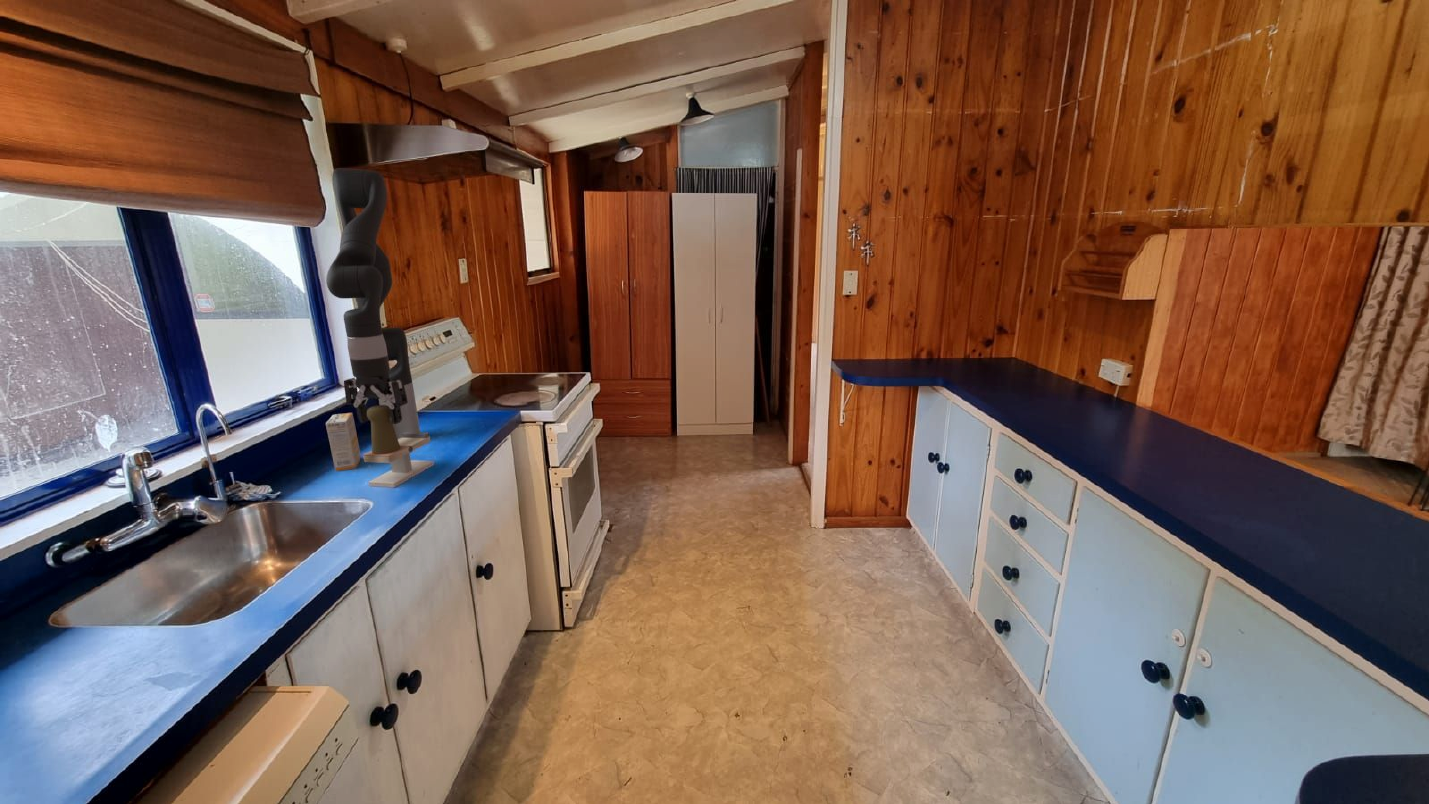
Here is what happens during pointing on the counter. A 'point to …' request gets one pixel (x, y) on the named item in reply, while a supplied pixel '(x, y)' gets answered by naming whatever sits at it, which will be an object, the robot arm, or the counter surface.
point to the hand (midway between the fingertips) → (380, 422)
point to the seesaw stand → (401, 472)
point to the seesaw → (407, 445)
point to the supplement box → (343, 441)
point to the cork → (382, 430)
